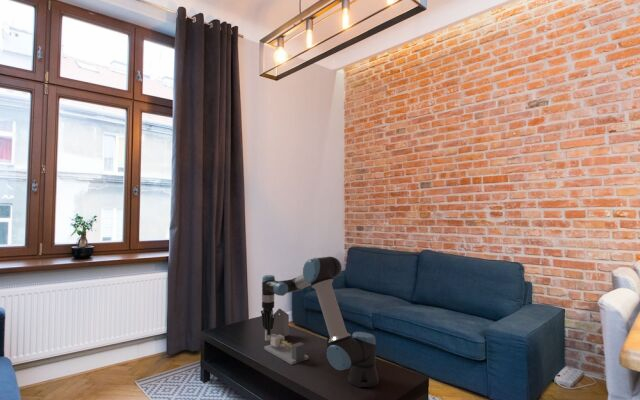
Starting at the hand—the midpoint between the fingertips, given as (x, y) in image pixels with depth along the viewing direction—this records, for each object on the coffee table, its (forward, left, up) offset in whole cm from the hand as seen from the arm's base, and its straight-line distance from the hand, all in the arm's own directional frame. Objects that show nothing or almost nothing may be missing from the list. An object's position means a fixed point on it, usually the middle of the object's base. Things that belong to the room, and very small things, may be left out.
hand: (267, 339), depth 217 cm
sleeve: (-7, -2, -1) cm, 8 cm away
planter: (+13, -14, -5) cm, 20 cm away
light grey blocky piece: (-14, -3, -5) cm, 15 cm away
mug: (-35, -24, -5) cm, 43 cm away
